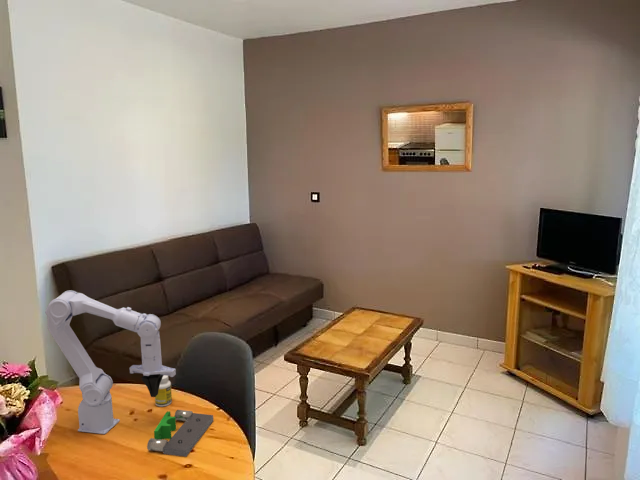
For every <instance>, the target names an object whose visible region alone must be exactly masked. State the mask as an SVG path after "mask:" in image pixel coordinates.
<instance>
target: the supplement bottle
mask: <svg viewBox="0 0 640 480" xmlns="http://www.w3.org/2000/svg"><path fill="white" fill-rule="evenodd" d="M172 402H173V398H172V382H171V380H169V376H167V375H163V378H162V380H161V382H160V386H159V390H158V395H157V396H156V397H154V403H155V406H157V407H167V406H169V405H171V404H172Z"/></svg>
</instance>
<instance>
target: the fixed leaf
mask: <svg viewBox="0 0 640 480" xmlns="http://www.w3.org/2000/svg"><path fill="white" fill-rule="evenodd" d="M173 417H176V421H178V422H180V421H181V422H184V423H182V425H181V426H180V427H179V428H178V429H177V430H176V431H175V433H173V435H171V437H172V438H171V439H154V438H152V437H151V438H149V440H148V442H147V445H146V447H147V450H148V451H154V452H161V453H163V455H170V456H176V457H177V456H178V457H185V458H187V456H189V454H190V453H191V451H192V450H193V449H194V447H195V446H196V444H197V443H198V442H199V440H200V439H201V438H202V437H203V435H204V434H205V433H206V431H207V430H208V429H209V428H210V427H211V425H212V424H213V423H214V414H207V413H206V414H205V413H197V412H196V413H195V412H193V411H192V410H185V409H177V410H175V412H174V416H173Z"/></svg>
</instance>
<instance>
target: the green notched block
mask: <svg viewBox="0 0 640 480" xmlns="http://www.w3.org/2000/svg"><path fill="white" fill-rule="evenodd" d="M176 421H177V420H176V417H174V416H171V411H168V410H167V411H166V412H165V414H164V415H163V417H162V418H161V420H160V421H159V423H158V424H157V426H156V428H155V429H154V431H153V437H154V439H162V440H170V439H171V438H172V432H177V422H176Z"/></svg>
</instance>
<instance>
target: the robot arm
mask: <svg viewBox="0 0 640 480" xmlns="http://www.w3.org/2000/svg"><path fill="white" fill-rule="evenodd" d="M86 313H88V314H90V315H94V316H97V317H102V318H105V319H109V320H111V321H112V322H113V324H114V325H115V326H117V327H119V328H122V329H126V330H128V331H131V332H134V333H136V334H137V335H138V336H139V337H140V351H141V364H132V365H131V366H130V367H129V374H142V375H143V376H141V380H142V382H143V383H144V385H145V386H146V388H147V390H148V392H149V396H150V398H155V397H156V396H157V395H158V390H159V386H160V382H161V380H162V378H163V375H167V376H168V377H170V378H173V377H175V376H176V375H177V373H176V368H173V367H169V366H166V365H163V362H162V361H163V359H162V349H161V348H162V346H161V336H160V328H161V326H162V323H161V319H160V317H158V316H157V315H155V314H153V313H152V314H151V313H149V314H147V313H144V312H143V313H142V312H137V311H136V310H132V307H129V306H127V307H121V308H115V307H112V306H110V305H108V304H105V303H103V302H100V301H98V300H95V299H94V298H91V297H89V296H87V295H85V294H84V293H82V292H78V291H76V290H72V289H71V290H66V291H64V292H62V293H61V294H60V295H59V296H58V297H56V298H54V299H52V300H51V301H50V302H49V303H48V305H47V307H46V309H45V314H46V319H47V329H48V332H49V333H50V336H51V337H52V338H53V340H54V342H55V343H56V344H57V346H58V348H60V350H61V352H62V353H63V355H64V357H65V359H66V360H67V361H68V363H69V365H71V368H72V369H73V370H74V372H75V373H76V375H77V377H78V378H79V384H78V385H79V390H80V392H81V395H82V396H81V397H82V400H81V401H80V402H79V405H78V407H77V408H78V409H77V413H78V415H77V416H78V417H77V418H78V424H79V428H78V429H77V432H83V433H91V434H100V435H106V434H107V433H108V432H109V431H110V430H111V429H113V427H114V426H116V425H117V424H119V422H120V421H121V420H120V419H119V418H114V410H113V400H112V394H111V389H112V387H113V384H114V381H113V379H112V377H111V376H110V375H109V374H106V372H104V370H103V369H102V368H100V367H97V366H96V364H95V363H94V362H93V360H92V358H91V357H90V356H89V354H88V352H87V350H86V349H85V347H84V345H83V344H82V343H81V341H80V340H79V338H78V337H77V335H76V333H75V332H74V330H73V329H72V327H71V325H70V323H71V321H72V318H73V317H75V316H77V315H81V314H86Z"/></svg>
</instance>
